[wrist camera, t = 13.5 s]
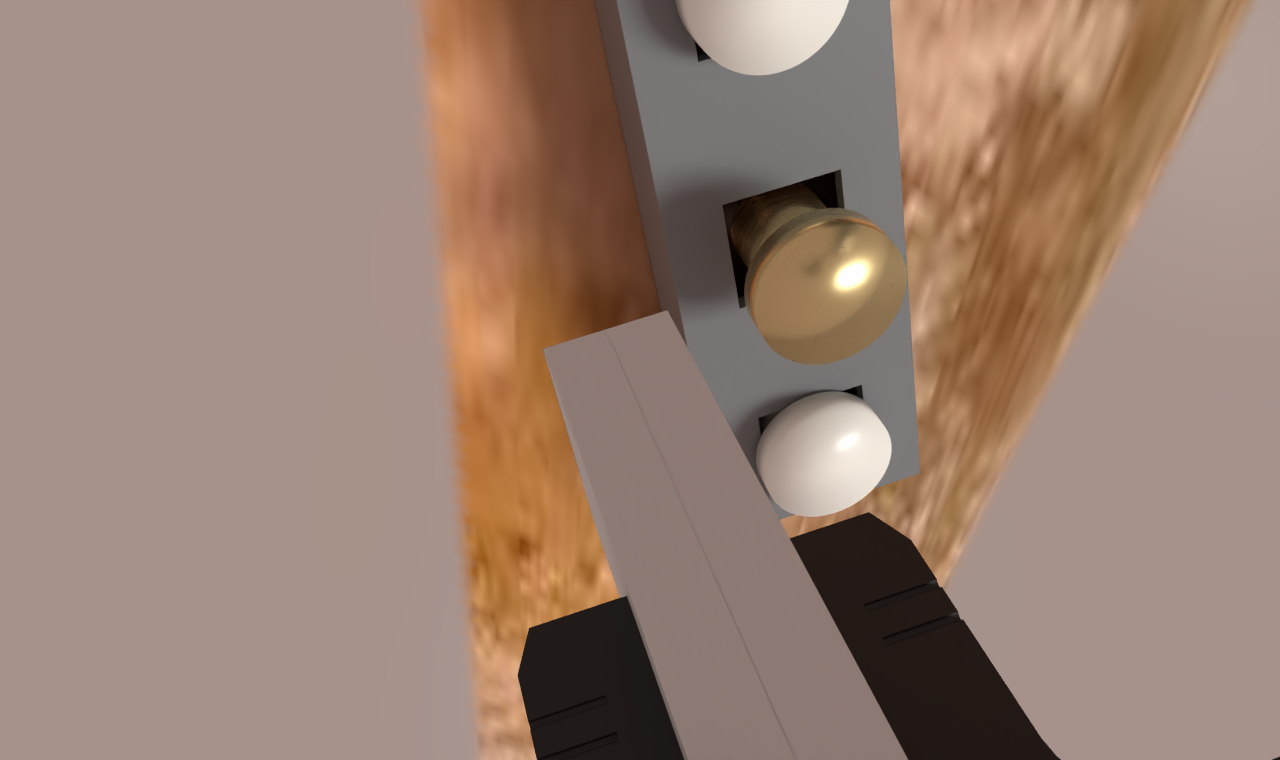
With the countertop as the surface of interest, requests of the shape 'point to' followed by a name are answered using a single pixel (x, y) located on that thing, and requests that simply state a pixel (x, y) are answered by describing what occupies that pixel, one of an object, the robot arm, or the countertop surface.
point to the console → (753, 164)
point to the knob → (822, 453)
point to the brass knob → (816, 275)
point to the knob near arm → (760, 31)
